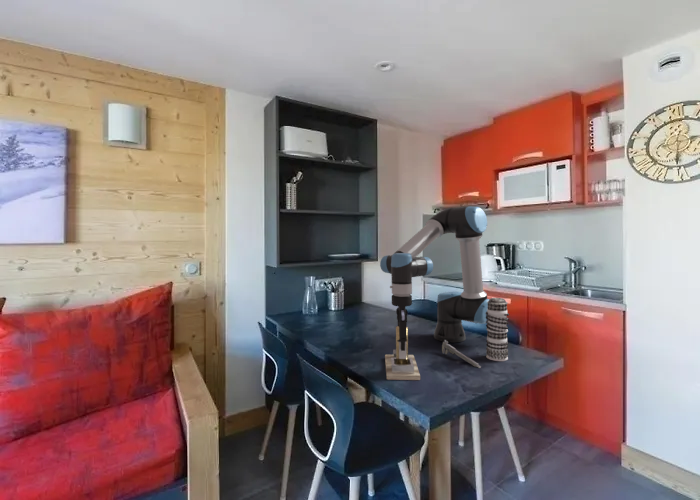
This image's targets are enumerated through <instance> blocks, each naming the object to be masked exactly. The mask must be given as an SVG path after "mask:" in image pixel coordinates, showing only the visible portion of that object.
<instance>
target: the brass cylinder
mask: <svg viewBox="0 0 700 500" xmlns="http://www.w3.org/2000/svg"><path fill="white" fill-rule="evenodd" d="M408 329H409V327H408V326H407V342H406V356H407V359H399V342H397V340H399V326H398V325H397V326H395V350H396V364H404V365H408V355H409V344H408V343H409V330H408Z"/></svg>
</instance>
